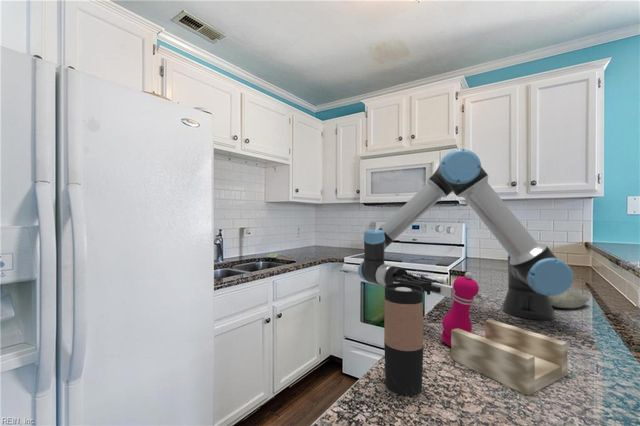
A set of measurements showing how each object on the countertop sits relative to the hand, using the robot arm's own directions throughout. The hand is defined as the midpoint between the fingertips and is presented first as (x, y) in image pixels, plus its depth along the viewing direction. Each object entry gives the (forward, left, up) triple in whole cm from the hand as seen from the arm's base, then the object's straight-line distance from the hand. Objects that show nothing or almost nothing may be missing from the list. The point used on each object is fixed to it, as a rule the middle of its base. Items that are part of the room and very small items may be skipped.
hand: (452, 292), depth 81 cm
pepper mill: (0, 0, -13) cm, 13 cm away
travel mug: (+22, +17, -14) cm, 31 cm away
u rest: (-5, +13, -14) cm, 20 cm away
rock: (-64, -26, -14) cm, 70 cm away
